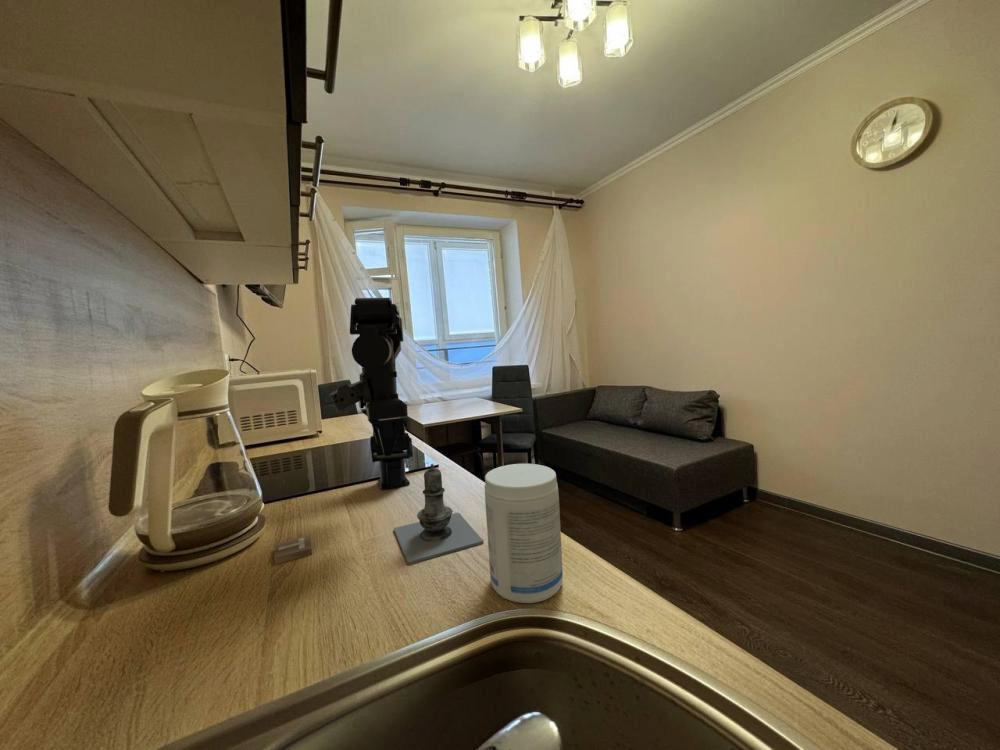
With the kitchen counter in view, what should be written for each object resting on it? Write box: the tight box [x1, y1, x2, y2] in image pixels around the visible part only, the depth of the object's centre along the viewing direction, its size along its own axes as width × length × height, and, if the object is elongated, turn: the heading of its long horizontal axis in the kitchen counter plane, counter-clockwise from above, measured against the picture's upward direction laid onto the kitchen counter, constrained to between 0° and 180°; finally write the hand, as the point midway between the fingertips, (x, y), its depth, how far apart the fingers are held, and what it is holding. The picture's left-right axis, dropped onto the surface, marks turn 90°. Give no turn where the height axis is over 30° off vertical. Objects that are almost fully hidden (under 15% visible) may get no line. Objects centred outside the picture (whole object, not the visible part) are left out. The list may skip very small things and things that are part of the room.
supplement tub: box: [484, 463, 564, 604], centre depth 49 cm, size 10×10×15 cm
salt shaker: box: [416, 463, 453, 542], centre depth 62 cm, size 6×6×12 cm
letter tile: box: [273, 534, 313, 565], centre depth 60 cm, size 5×5×2 cm
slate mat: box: [393, 512, 484, 565], centre depth 63 cm, size 12×12×1 cm
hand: (383, 449), depth 70 cm, fingers open, 9 cm apart
